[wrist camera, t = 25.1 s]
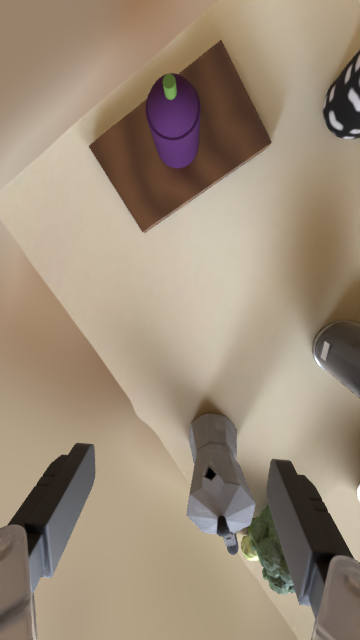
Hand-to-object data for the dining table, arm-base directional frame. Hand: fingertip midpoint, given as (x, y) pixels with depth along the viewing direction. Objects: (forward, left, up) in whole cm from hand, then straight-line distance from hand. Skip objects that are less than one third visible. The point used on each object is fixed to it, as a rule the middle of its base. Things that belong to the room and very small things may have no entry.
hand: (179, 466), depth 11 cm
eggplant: (+3, -25, -31) cm, 40 cm away
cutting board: (+3, -25, -32) cm, 41 cm away
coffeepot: (-6, +24, -32) cm, 41 cm away
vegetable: (-19, +43, -32) cm, 57 cm away
